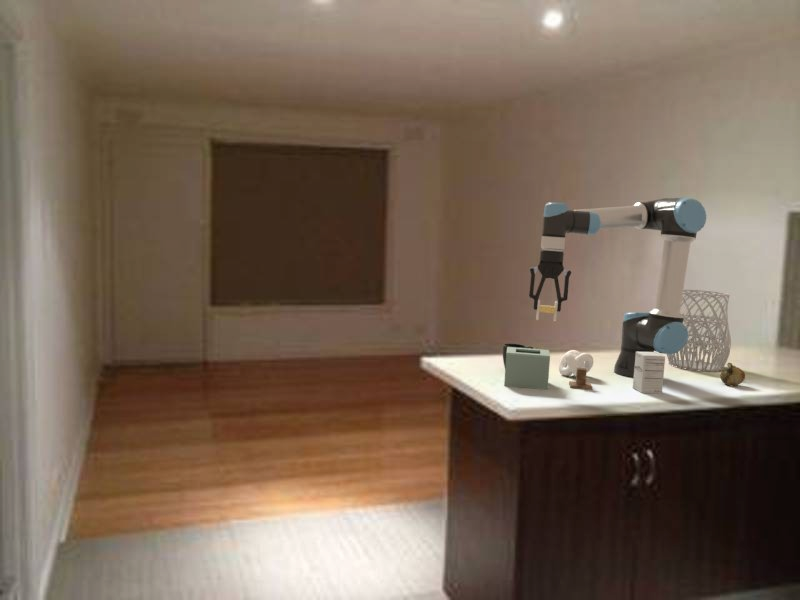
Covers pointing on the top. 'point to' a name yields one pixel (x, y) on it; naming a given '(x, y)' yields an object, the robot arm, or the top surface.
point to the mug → (511, 346)
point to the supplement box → (648, 372)
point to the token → (547, 309)
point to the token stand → (580, 380)
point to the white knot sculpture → (575, 362)
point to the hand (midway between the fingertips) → (546, 320)
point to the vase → (719, 358)
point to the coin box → (527, 368)
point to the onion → (732, 375)
